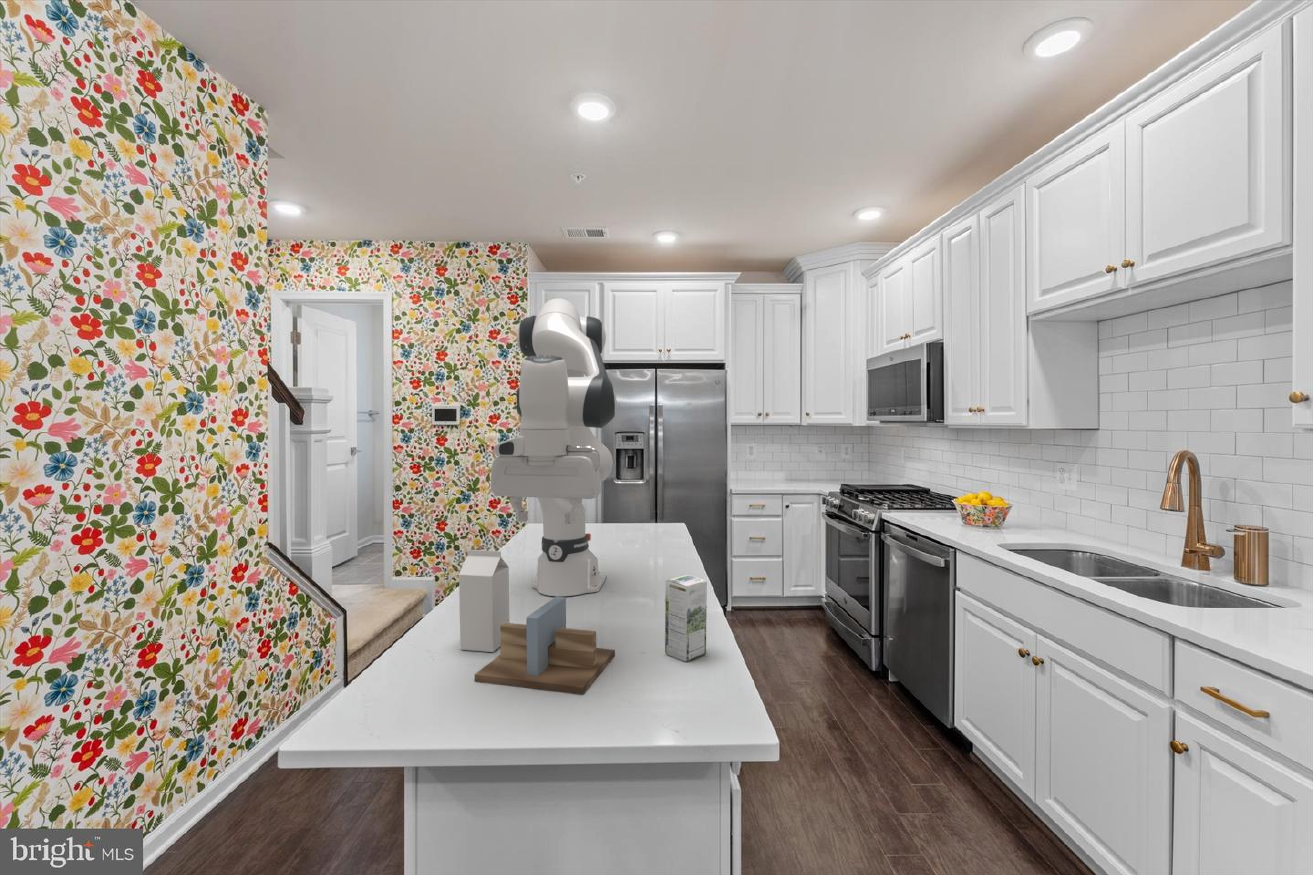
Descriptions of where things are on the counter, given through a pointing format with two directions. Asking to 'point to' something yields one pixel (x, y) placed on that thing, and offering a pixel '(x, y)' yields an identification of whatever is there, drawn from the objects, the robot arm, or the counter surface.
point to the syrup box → (685, 617)
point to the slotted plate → (543, 633)
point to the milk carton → (483, 600)
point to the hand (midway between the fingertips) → (546, 522)
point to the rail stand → (567, 661)
